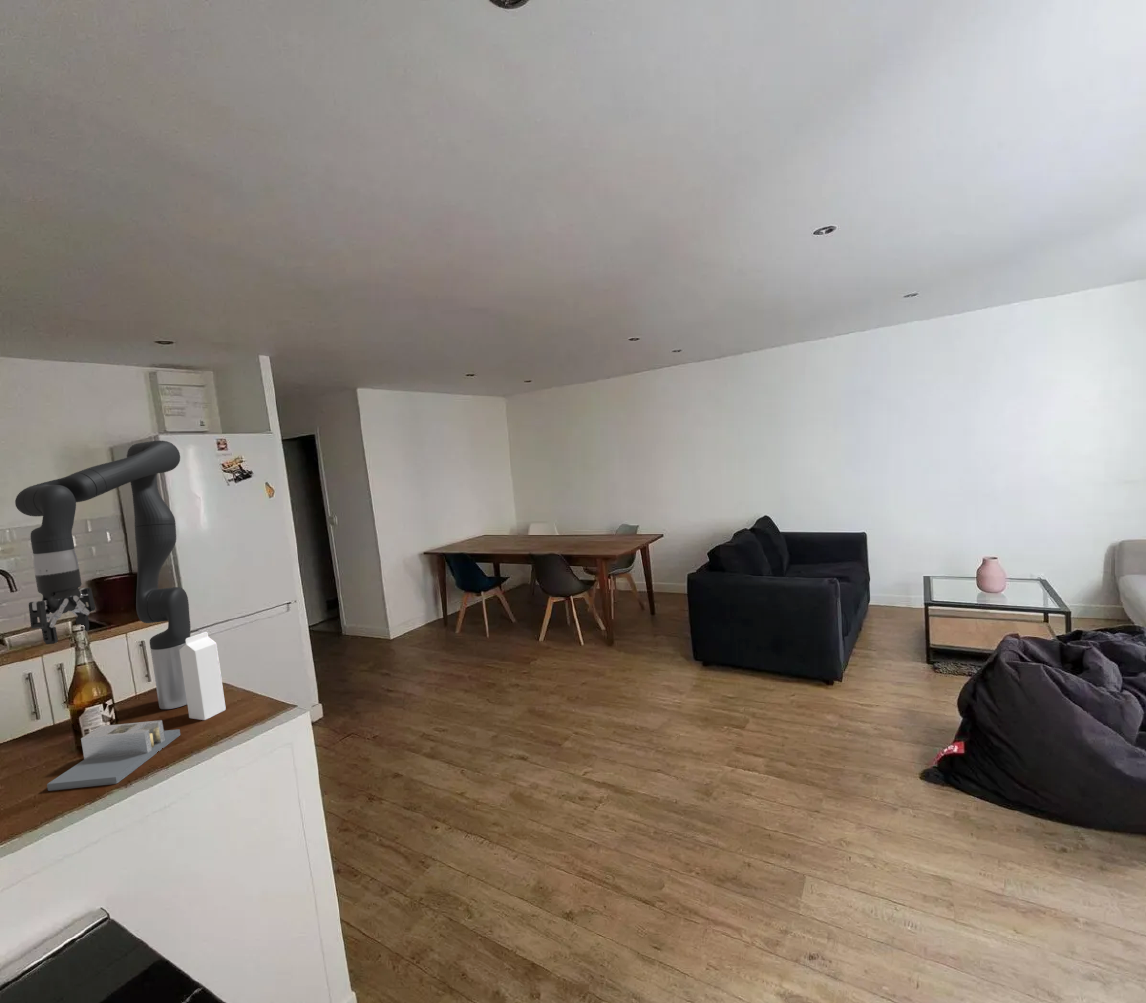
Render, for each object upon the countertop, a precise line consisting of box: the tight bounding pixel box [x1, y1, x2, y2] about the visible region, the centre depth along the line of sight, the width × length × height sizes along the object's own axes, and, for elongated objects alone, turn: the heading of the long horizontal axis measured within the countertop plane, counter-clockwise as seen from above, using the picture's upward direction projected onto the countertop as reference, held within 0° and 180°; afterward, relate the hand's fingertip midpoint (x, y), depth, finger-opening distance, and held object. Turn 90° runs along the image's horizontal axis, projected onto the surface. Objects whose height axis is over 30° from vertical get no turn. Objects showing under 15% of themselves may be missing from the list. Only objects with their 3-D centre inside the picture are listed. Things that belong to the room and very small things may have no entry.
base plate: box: [46, 728, 181, 791], centre depth 123 cm, size 20×14×5 cm
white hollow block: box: [80, 719, 165, 760], centre depth 125 cm, size 14×6×5 cm, turn 93°
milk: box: [179, 631, 227, 721], centre depth 143 cm, size 6×6×22 cm
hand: (68, 637), depth 127 cm, fingers open, 8 cm apart
